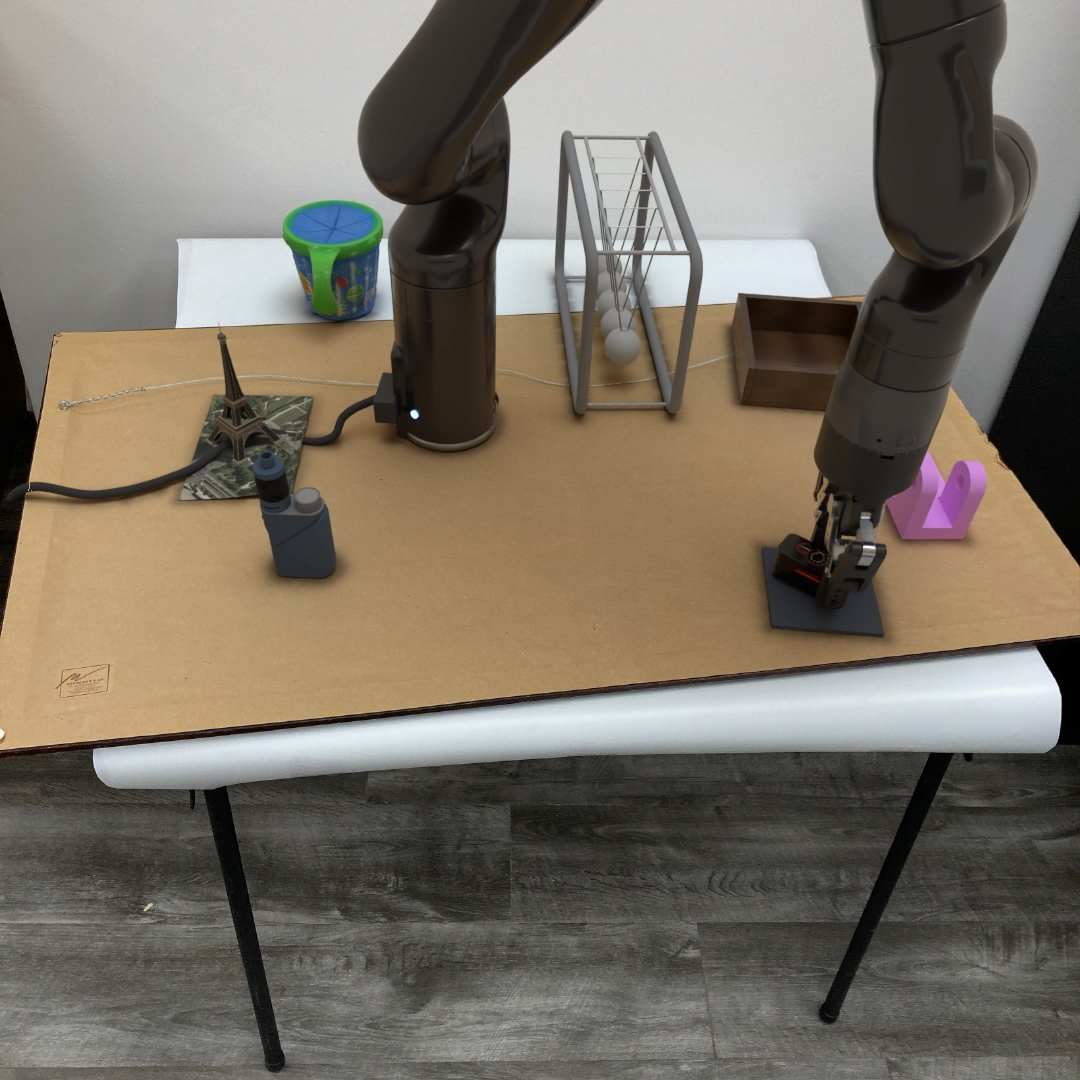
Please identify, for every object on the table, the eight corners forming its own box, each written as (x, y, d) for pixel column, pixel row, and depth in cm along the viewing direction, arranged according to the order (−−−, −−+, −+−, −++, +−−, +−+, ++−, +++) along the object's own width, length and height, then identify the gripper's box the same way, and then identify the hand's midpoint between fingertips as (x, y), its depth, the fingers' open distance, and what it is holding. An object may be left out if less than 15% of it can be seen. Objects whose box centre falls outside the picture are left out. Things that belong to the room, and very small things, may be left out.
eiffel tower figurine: (294, 499, 87) (271, 375, 78) (178, 500, 87) (141, 375, 78) (313, 399, 98) (295, 279, 89) (211, 399, 98) (181, 278, 88)
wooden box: (740, 404, 100) (748, 367, 97) (731, 327, 111) (738, 292, 108) (873, 414, 100) (886, 377, 97) (851, 336, 110) (862, 301, 107)
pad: (771, 628, 79) (772, 624, 78) (761, 549, 85) (762, 546, 85) (883, 637, 78) (884, 633, 78) (865, 557, 85) (866, 554, 85)
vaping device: (277, 555, 82) (253, 443, 74) (339, 558, 82) (322, 447, 74) (270, 577, 81) (245, 465, 72) (334, 580, 81) (316, 469, 72)
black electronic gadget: (845, 617, 79) (856, 590, 77) (767, 576, 82) (775, 549, 80) (869, 585, 82) (880, 557, 80) (792, 546, 85) (801, 519, 83)
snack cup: (369, 348, 105) (360, 262, 98) (274, 337, 106) (258, 250, 99) (404, 276, 116) (399, 194, 109) (318, 267, 117) (307, 184, 110)
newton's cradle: (553, 271, 118) (561, 123, 106) (639, 271, 119) (656, 124, 107) (575, 423, 97) (587, 260, 85) (679, 422, 98) (707, 260, 85)
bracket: (962, 539, 87) (991, 479, 82) (901, 539, 87) (926, 479, 82) (916, 447, 96) (939, 389, 91) (861, 446, 96) (881, 388, 91)
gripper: (815, 355, 74) (770, 518, 86) (842, 477, 64) (786, 643, 76) (914, 362, 74) (855, 525, 86) (957, 486, 64) (884, 652, 76)
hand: (823, 580), depth 81 cm, fingers closed on black electronic gadget, 5 cm apart
